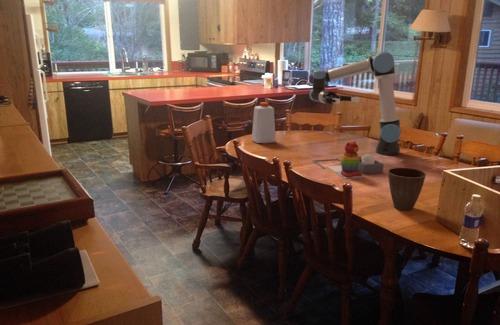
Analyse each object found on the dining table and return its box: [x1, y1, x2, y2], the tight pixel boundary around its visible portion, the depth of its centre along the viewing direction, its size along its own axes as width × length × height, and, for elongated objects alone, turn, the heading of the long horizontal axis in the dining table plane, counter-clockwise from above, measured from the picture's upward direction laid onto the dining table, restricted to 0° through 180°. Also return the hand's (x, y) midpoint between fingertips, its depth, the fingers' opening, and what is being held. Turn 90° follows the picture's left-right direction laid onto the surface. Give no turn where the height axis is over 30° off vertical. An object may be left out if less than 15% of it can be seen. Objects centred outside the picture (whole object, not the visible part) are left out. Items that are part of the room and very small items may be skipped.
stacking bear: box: [340, 141, 363, 179], centre depth 227 cm, size 11×10×18 cm
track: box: [311, 158, 365, 179], centre depth 242 cm, size 17×37×1 cm, turn 15°
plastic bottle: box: [251, 101, 276, 144], centre depth 304 cm, size 15×15×28 cm
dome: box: [361, 153, 376, 164], centre depth 237 cm, size 7×7×8 cm
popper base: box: [358, 158, 384, 175], centre depth 238 cm, size 12×12×5 cm
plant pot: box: [387, 167, 427, 212], centre depth 182 cm, size 15×15×16 cm
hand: (349, 101), depth 241 cm, fingers open, 13 cm apart
